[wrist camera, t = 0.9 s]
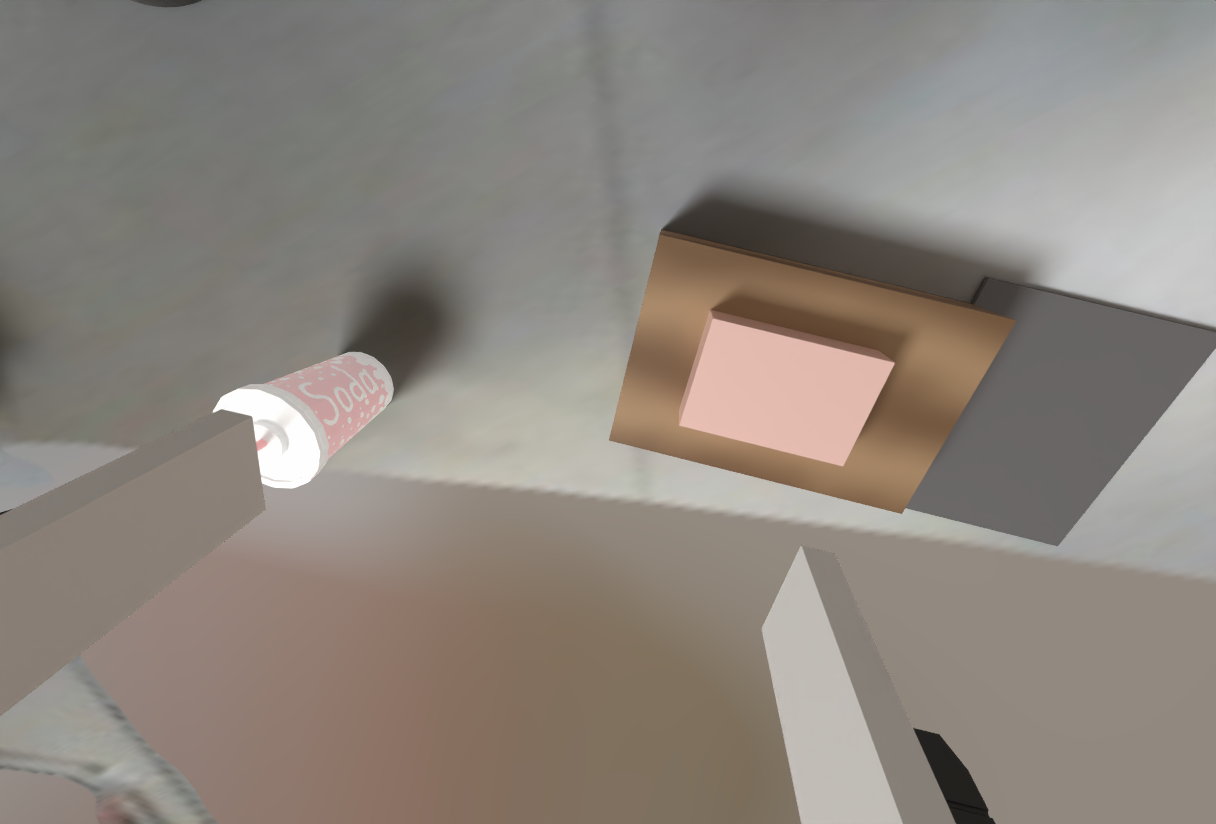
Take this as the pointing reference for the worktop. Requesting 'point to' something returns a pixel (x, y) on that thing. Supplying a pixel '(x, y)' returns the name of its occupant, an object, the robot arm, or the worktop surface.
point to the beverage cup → (310, 414)
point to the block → (781, 388)
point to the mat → (1056, 411)
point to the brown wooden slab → (819, 305)
